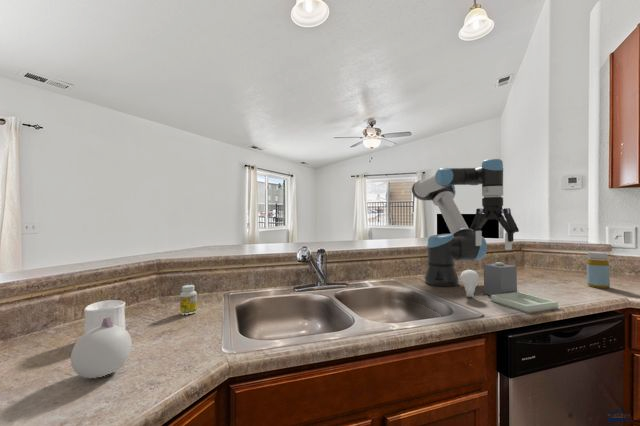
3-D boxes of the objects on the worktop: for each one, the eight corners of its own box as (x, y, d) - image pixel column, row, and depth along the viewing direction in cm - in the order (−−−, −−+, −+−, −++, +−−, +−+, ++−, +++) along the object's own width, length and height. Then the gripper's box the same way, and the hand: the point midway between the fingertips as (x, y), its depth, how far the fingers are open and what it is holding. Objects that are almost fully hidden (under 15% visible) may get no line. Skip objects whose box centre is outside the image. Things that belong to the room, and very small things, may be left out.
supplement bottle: (200, 312, 101) (200, 285, 101) (186, 316, 96) (186, 288, 96) (190, 309, 103) (190, 283, 104) (177, 314, 99) (176, 286, 99)
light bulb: (482, 300, 108) (481, 271, 108) (463, 299, 109) (462, 271, 109) (476, 295, 114) (475, 268, 114) (458, 295, 116) (457, 268, 116)
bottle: (613, 287, 122) (612, 252, 122) (604, 289, 120) (603, 253, 120) (592, 284, 129) (591, 251, 129) (583, 285, 126) (582, 252, 126)
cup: (93, 350, 73) (93, 312, 73) (75, 342, 78) (75, 307, 78) (132, 336, 81) (132, 302, 81) (114, 330, 86) (114, 297, 86)
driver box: (483, 293, 118) (482, 261, 118) (498, 291, 120) (497, 260, 120) (501, 298, 110) (500, 265, 110) (517, 296, 112) (516, 263, 112)
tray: (491, 300, 107) (490, 295, 107) (519, 297, 111) (519, 291, 111) (527, 312, 93) (526, 306, 93) (558, 308, 97) (558, 301, 97)
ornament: (140, 360, 67) (139, 309, 67) (115, 385, 57) (115, 325, 57) (92, 364, 65) (91, 312, 66) (58, 391, 55) (57, 330, 55)
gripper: (461, 198, 128) (461, 244, 129) (515, 195, 105) (515, 252, 105) (473, 197, 131) (474, 243, 131) (529, 195, 107) (529, 251, 108)
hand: (492, 247), depth 118 cm, fingers open, 13 cm apart
